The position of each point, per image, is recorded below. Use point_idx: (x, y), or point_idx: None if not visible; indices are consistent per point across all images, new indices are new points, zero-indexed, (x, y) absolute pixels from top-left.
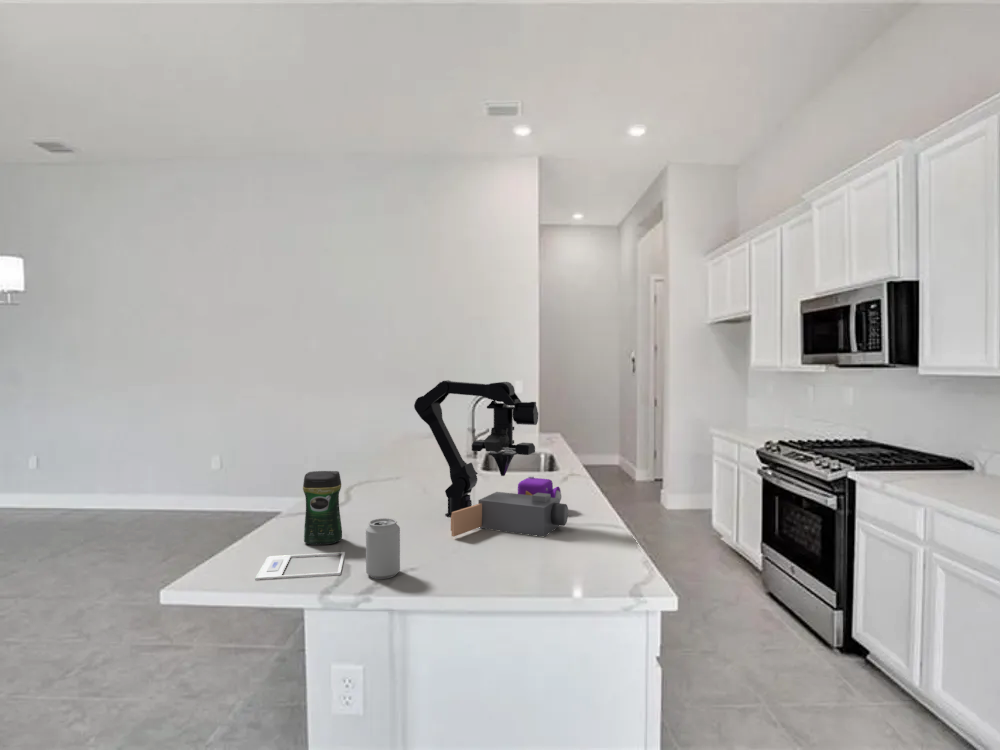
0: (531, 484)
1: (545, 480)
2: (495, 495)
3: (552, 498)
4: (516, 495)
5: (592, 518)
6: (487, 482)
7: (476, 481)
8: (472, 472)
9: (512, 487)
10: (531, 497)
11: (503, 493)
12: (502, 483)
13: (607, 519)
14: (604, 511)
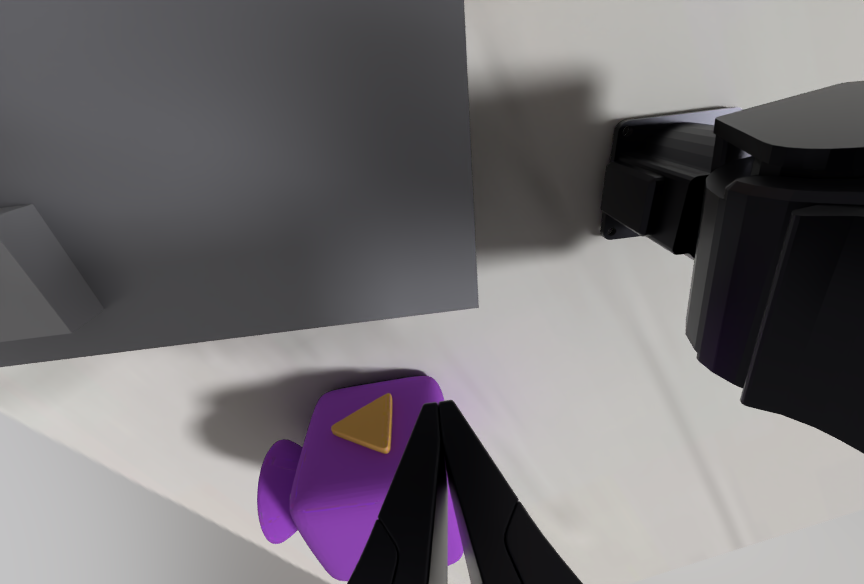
0: (360, 497)
1: (333, 562)
2: (419, 196)
3: (13, 345)
4: (280, 286)
5: (131, 426)
6: (692, 553)
7: (696, 339)
8: (813, 352)
9: (596, 549)
10: (144, 293)
11: (404, 287)
12: (642, 562)
13: (82, 441)
14: (178, 499)
